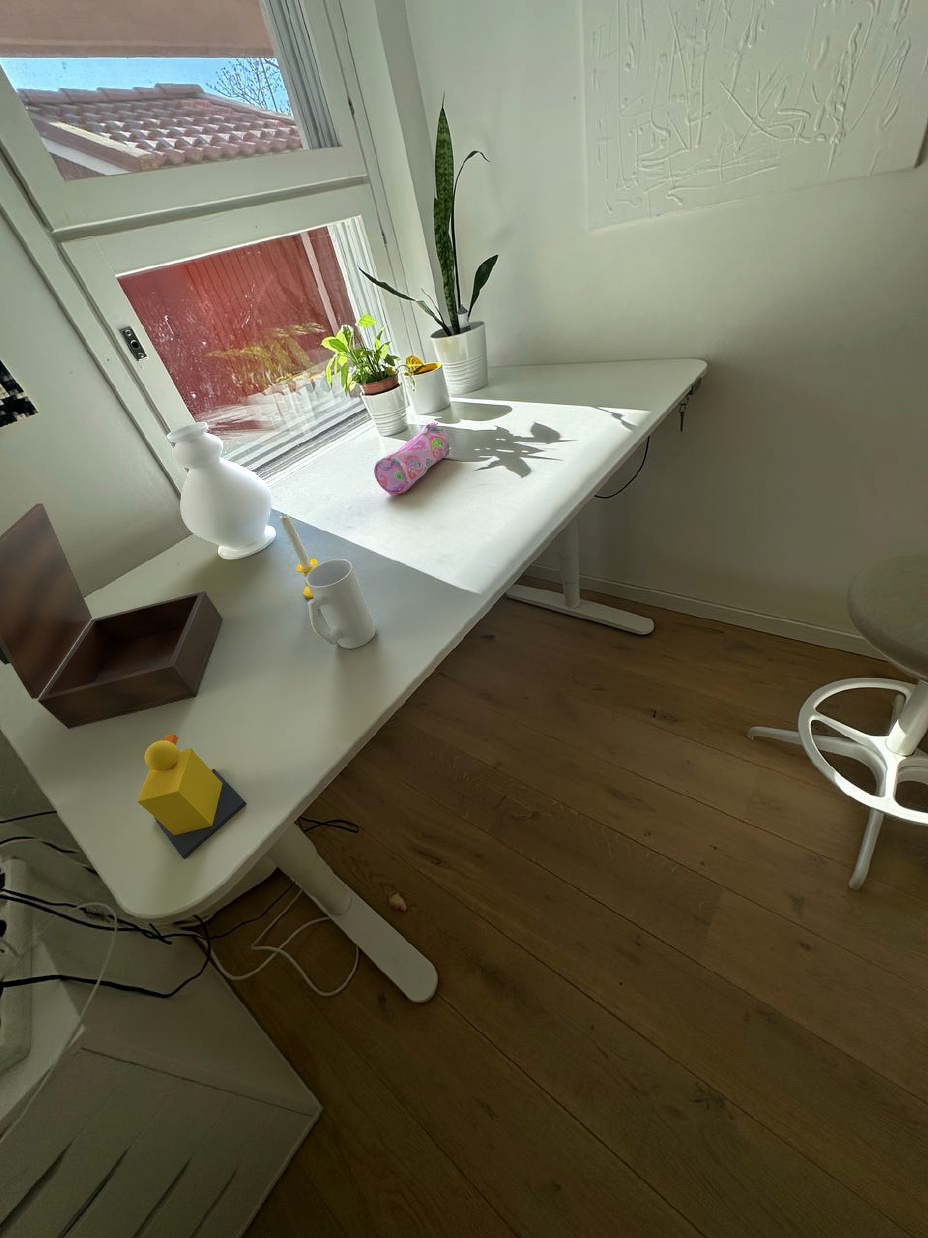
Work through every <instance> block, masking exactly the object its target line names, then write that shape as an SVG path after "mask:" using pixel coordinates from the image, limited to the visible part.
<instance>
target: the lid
mask: <svg viewBox="0 0 928 1238" xmlns="http://www.w3.org/2000/svg"><path fill="white" fill-rule="evenodd" d="M63 549H64V548H63V547H62V545H61V542H60V540H59V538H58V535H57V533H56V531H55V528H54V527H53V524H52V521H51V520H50V517H49V515H48V512H47V511H46V508H45V506H44V504H43V503H36V504H34V505H33V507H31V508H30V509H29V510H28V511H26V512H25V513H24V514H23V515H22V516H21V517H20V518H19V519H18V520H17V521H15V522H14V523H13V524H12V525H11V526H10V527H8V529H6V531H3V533H2V534H1V535H0V646H1V648H2V650H3V652H4V653H5V655H6V657H7V658H8V660H9V662H10V663H9V664H10V665H11V666H12V669H13V670H14V672H15V673H16V675H17V677H18V679H19V680H20V682H21V683H22V685H23V687H24V688H25V690H26V692H27V693H28V696H29V697H30V699H32V700H36V699H37V700H38V699H39V698H40V696H41V695H42V693H43V692H44V690H45V689H46V687H47V686H48V684H49V683H50V681H51V680H52V678H53V677H54V675H55V674H56V672H57V671H58V669H59V668H60V666H61V665H62V663H63V662H64V660H65V659H66V657H67V656H68V654H69V653H70V651H71V650H72V648H73V647H74V645H75V644H76V642H77V641H78V639H79V638H80V636H81V635H82V633H83V632H84V630H85V629H86V627H87V626H88V624H89V623H90V621H91V620H92V618H93V616H92V613H91V611H90V608H89V607H88V604H87V603H86V599H85V597H84V595H83V592H82V591H81V588H80V586H79V584H78V581H77V579H76V577H75V575H74V572H73V570H72V567H71V565H70V563H69V561H68V559H67V557H66V553H65V552H64V550H63Z"/></svg>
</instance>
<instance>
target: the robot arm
mask: <svg viewBox="0 0 928 1238" xmlns="http://www.w3.org/2000/svg"><path fill="white" fill-rule="evenodd" d="M0 662H1V663H2V664H4V665H9V664H11V663H10V662H9V660H8V658H7V657H6V655H5V653H4V652H3V650H2V648H1V646H0Z"/></svg>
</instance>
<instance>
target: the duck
mask: <svg viewBox="0 0 928 1238" xmlns="http://www.w3.org/2000/svg"><path fill="white" fill-rule="evenodd" d="M178 740H179V737H178V736H177V735H176V734H175V733H172V734H169V735H164V736H162V739H161V740H158V741H155V742H153V743H151V745H149V746H148V747H147V749H146V751H145V752H144V762H145V765H146V766H147V767H148V768H149V769H148V772H147V775H146V778H145V780H144V782H143V785H142V788H141V790H140V792H139V795H138V798H137V801H136V802H137V803H138V804H139V805H140V806H141V807H142V808H143V809H145V810H146V811H147V812H148V813H149V814H150V815H151V816H153V818H154V817H155V818H156V819H157V820H158V821H159V822H160V823H162V824H163V825H164V826H165V827H166V828H167V829H168V830H169V831H170V832H172V833H173V834H174V835H178V834H182V833H186V832H190V831H194V830H198V829H202V828H206V827H210V826H212V824H213V820H214V816H215V812H216V808H217V804H218V800H219V796H220V792H221V788H222V782H221V781H220V780H219V779H218V778H217V777H216V776H215V774H214V773H213V772H212V771H211V770H212V769H211V768H209V766H208V765H207V764H206V763H205V762H204V761H203V759H202V758H201V757H200V755H198V754H197V753H196V752H195V751H194V749H192V748H191V747H190V748H187V749H183V750H179V749H178V746H177V742H178Z"/></svg>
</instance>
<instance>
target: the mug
mask: <svg viewBox="0 0 928 1238" xmlns="http://www.w3.org/2000/svg"><path fill="white" fill-rule="evenodd" d="M305 579H306V583H307V585H308V587H309V589H310V591H311V593H312V595H313V597H314V599H310V600H309V601H308V602H306V605H307V607H308V616H309V622H310V625H311V628H312V629H313V631H314V633H315V634H316V635H317V637H319V639H321V640H322V641H323V642H325V643H326V644H328V645H332V646H333V645H335V644H336V643H337V645H338V646H339V647H342V648H343V649H357V648H360V647H362V646H365V645H366V644H368V643H369V642H370V641H371V640H372V639H373V638H374V637H375V635H376V633H377V629H376V624H375V622H374V619H373V616H372V613H371V611H370V608H369V606H368V602H367V600H366V598H365V595H364V592H363V590H362V587H361V585H360V582H359V579H358V576H357V574H356V571H355V569H354V567H353V564H352V562H351V561H349V560H348V559H345V558H333V559H329V560H326V561H324V562H321V563H318V564H317V566H316V567H315V568H313V569H312V570H311V571H310V572H309V573H308V575H307V577H305ZM307 585H306V586H307ZM319 610H320V612H321V614H322V616H323V619H324V620H325V622H326V623H327V626H328V627H329V629H330V632H329V633H327V632H326V631H325V630H324V629H323V628H322V626H321V624H320V621H319Z"/></svg>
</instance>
